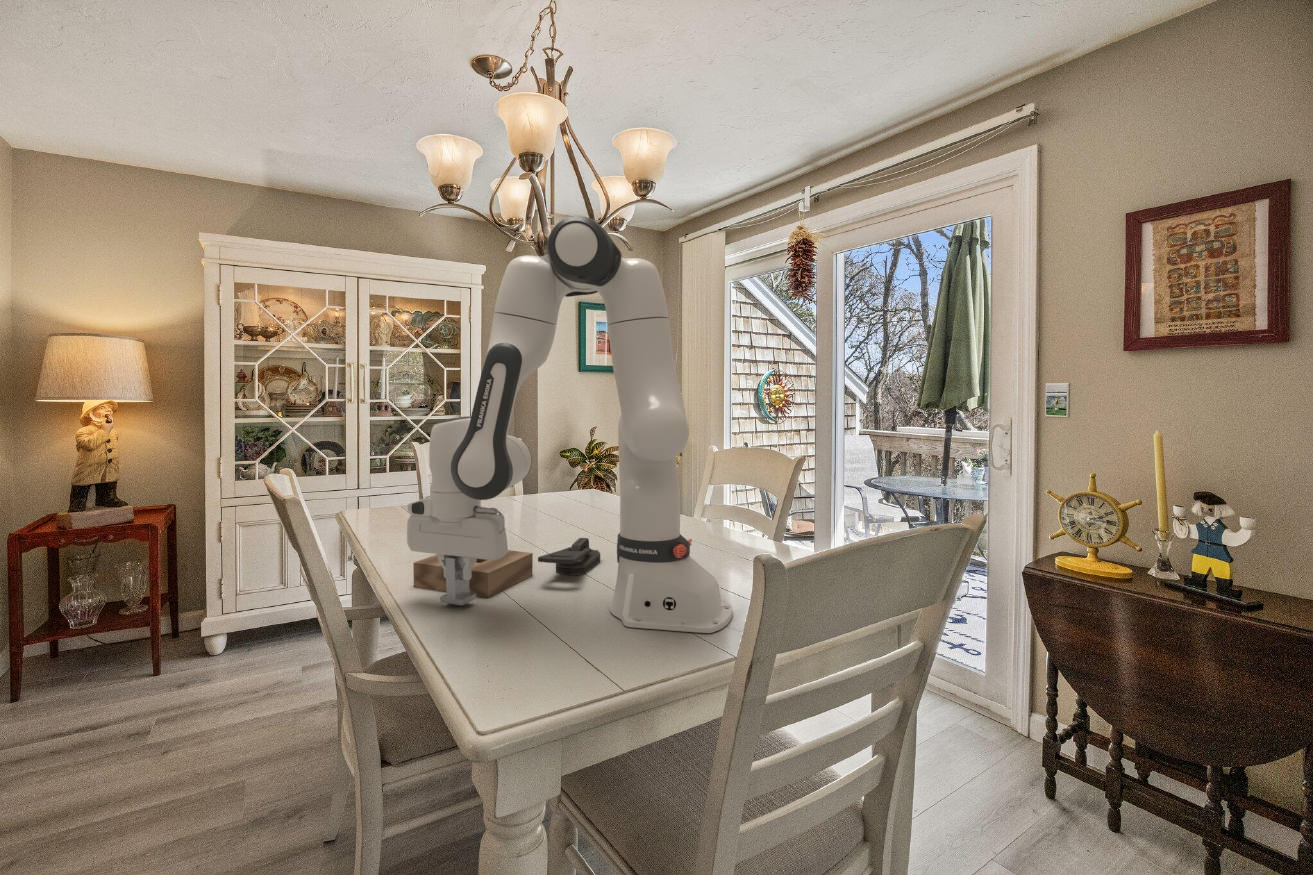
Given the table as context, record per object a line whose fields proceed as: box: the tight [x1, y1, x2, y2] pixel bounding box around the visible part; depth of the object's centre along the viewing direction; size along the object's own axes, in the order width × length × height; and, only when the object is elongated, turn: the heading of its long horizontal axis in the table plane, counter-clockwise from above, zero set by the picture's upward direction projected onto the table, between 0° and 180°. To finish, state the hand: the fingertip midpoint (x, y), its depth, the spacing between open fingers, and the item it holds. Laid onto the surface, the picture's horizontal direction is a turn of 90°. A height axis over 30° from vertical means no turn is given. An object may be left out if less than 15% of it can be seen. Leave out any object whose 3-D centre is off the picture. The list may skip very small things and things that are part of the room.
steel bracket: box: [439, 556, 477, 606], centre depth 113 cm, size 5×4×8 cm
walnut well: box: [413, 549, 534, 599], centre depth 128 cm, size 18×16×5 cm
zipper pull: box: [537, 537, 601, 576], centre depth 136 cm, size 9×7×25 cm
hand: (457, 578), depth 113 cm, fingers closed on steel bracket, 2 cm apart
